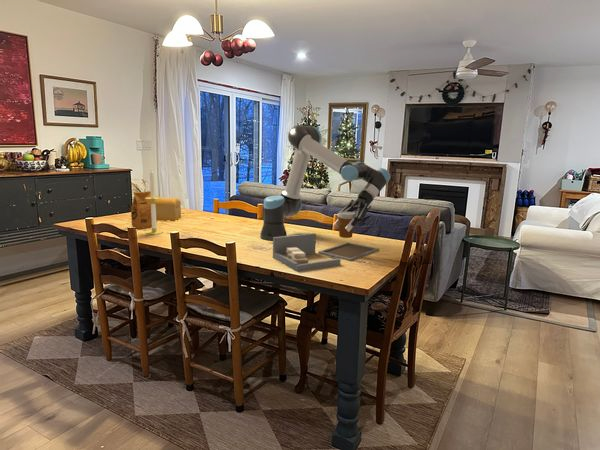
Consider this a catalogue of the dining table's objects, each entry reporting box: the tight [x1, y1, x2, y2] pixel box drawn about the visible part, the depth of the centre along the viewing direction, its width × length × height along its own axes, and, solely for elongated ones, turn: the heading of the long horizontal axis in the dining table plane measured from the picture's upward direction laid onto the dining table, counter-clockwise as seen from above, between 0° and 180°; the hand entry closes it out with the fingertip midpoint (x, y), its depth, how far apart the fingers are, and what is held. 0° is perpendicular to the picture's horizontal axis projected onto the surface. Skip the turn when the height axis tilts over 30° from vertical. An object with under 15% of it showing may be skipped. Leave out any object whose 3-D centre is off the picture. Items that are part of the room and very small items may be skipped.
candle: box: [145, 168, 161, 235], centre depth 240 cm, size 10×10×38 cm
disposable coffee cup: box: [336, 211, 357, 239], centre depth 207 cm, size 10×10×12 cm
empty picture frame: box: [318, 242, 380, 262], centre depth 212 cm, size 19×2×30 cm
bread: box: [155, 196, 182, 222], centre depth 282 cm, size 24×13×15 cm, turn 90°
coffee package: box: [130, 190, 152, 230], centre depth 255 cm, size 10×12×22 cm
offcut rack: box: [272, 232, 342, 272], centre depth 194 cm, size 23×23×10 cm
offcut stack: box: [284, 247, 309, 264], centre depth 192 cm, size 18×6×6 cm, turn 21°
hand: (340, 228), depth 206 cm, fingers closed on disposable coffee cup, 9 cm apart
